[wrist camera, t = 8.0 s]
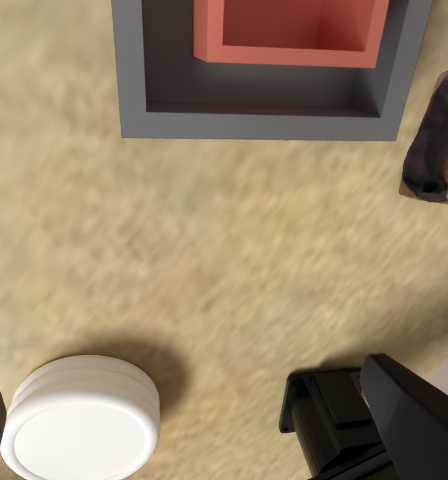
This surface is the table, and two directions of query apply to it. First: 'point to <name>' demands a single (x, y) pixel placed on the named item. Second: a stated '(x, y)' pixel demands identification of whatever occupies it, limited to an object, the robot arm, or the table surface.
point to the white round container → (82, 420)
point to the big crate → (256, 83)
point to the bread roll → (429, 151)
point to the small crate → (289, 31)
